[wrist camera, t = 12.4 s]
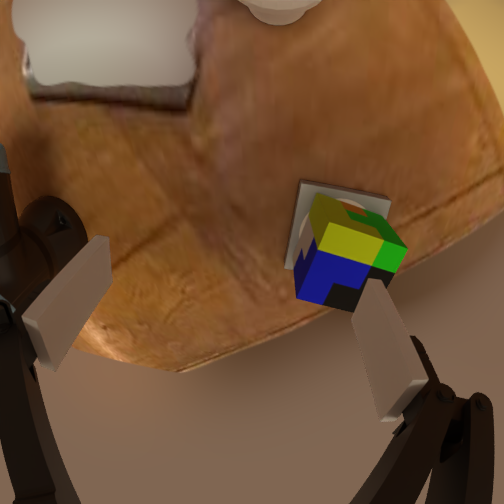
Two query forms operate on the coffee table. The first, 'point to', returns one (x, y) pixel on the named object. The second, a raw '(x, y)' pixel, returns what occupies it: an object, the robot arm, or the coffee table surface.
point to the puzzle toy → (343, 253)
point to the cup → (279, 10)
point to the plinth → (347, 195)
